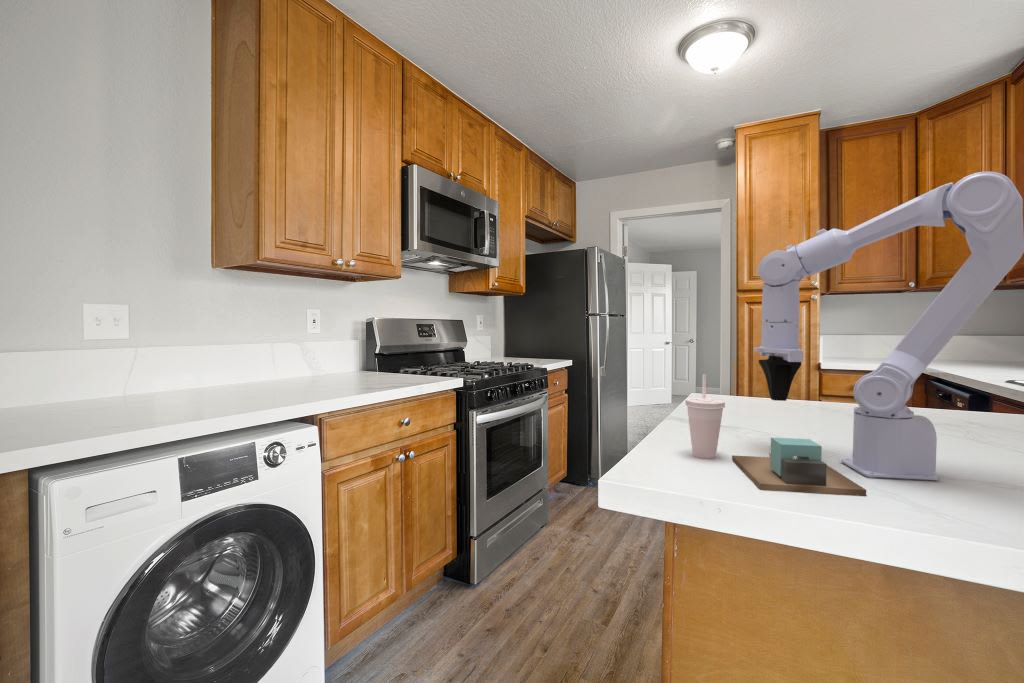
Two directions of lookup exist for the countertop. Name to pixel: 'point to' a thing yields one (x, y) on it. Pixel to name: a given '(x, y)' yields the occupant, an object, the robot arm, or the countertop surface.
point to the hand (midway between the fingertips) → (778, 400)
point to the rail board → (775, 483)
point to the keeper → (792, 451)
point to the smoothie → (704, 423)
